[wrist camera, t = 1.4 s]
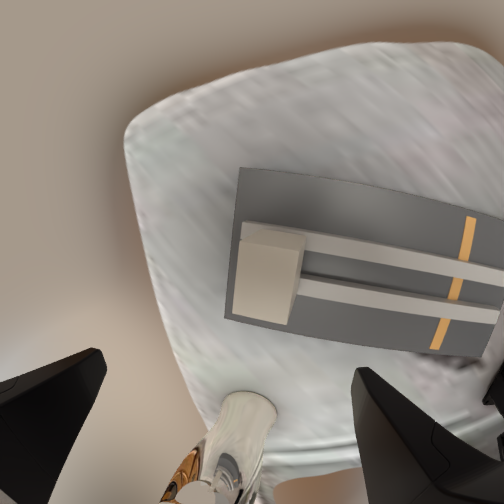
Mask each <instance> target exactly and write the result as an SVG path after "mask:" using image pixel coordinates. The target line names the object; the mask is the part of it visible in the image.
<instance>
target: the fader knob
mask: <svg viewBox="0 0 504 504" xmlns="http://www.w3.org/2000/svg"><path fill="white" fill-rule="evenodd" d="M305 243H306V236H304V235H298V234H292V233H286V232H280V231H273V230H267V229H260V230H259V231H257V232H255V233H253V234H251V235H250V236H248V237H246V238H244V239H242V240H241V241H240V242H239V251H238V261H237V270H236V279H235V289H234V299H233V309H232V313H233V314H237V315H242V316H246V317H250V318H255V319H259V320H264V321H269V322H273V323H278V324H283V325H287V322H288V319H289V316H290V313H291V310H292V307H293V304H294V301H295V298H296V294H297V290H298V284H299V279H300V273H301V267H302V261H303V255H304V249H305Z"/></svg>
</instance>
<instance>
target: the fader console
mask: <svg viewBox="0 0 504 504" xmlns="http://www.w3.org/2000/svg"><path fill="white" fill-rule="evenodd" d="M260 229H267V230H273V231H280V232H286V233H292V234H298V235H304V236H306V243H305V249H304V255H303V261H302V267H301V273H300V279H299V284H298V290H297V294H296V298H295V301H294V304H293V307H292V310H291V313H290V316H289V319H288V322H287V325H283V324H278V323H273V322H269V321H264V320H259V319H255V318H250V317H246V316H242V315H237V314H233V313H232V309H233V299H234V289H235V279H236V270H237V261H238V251H239V242H240V241H241V240H242V239H244V238H246V237H248V236H250V235H251V234H253V233H255V232H257V231H259V230H260ZM503 301H504V221H503V220H500V219H497V218H494V217H491V216H488V215H484V214H481V213H478V212H475V211H471V210H468V209H465V208H461V207H458V206H454V205H450V204H447V203H443V202H439V201H435V200H431V199H428V198H423V197H419V196H415V195H411V194H407V193H402V192H398V191H393V190H388V189H384V188H379V187H374V186H369V185H364V184H358V183H353V182H347V181H341V180H335V179H329V178H323V177H316V176H310V175H303V174H295V173H288V172H280V171H271V170H262V169H252V168H242V167H240V169H239V178H238V187H237V195H236V204H235V213H234V223H233V232H232V242H231V252H230V262H229V272H228V282H227V293H226V304H225V315H224V318H225V319H229V320H234V321H238V322H242V323H246V324H251V325H255V326H260V327H264V328H269V329H273V330H278V331H283V332H288V333H293V334H298V335H303V336H308V337H314V338H319V339H325V340H331V341H337V342H343V343H349V344H355V345H362V346H369V347H376V348H384V349H392V350H400V351H409V352H418V353H428V354H439V355H452V356H468V357H482V354H483V352H484V350H485V348H486V346H487V343H488V341H489V339H490V336H491V334H492V331H493V329H494V326H495V324H496V322H497V320H498V317H499V314H500V310H501V307H502V304H503Z"/></svg>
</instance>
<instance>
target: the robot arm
mask: <svg viewBox="0 0 504 504" xmlns="http://www.w3.org/2000/svg"><path fill="white" fill-rule="evenodd" d="M106 372H107V366H106V362H105V360H104V357H103V354H102V352H101V350H100V349H96V348H89V349H86V350H84V351H81V352H79V353H76V354H74V355H71V356H69V357H66V358H64V359H61V360H58V361H56V362H53V363H51V364H48V365H46V366H43V367H40V368H38V369H36V370H33V371H30V372H27V373H25V374H22V375H20V376H17V377H14V378H12V379H9V380H6V381H3V382H0V504H48V502H49V499H50V497H51V494H52V491H53V489H54V487H55V484H56V481H57V479H58V477H59V475H60V473H61V470H62V468H63V466H64V463H65V461H66V459H67V457H68V455H69V453H70V451H71V449H72V446H73V444H74V442H75V440H76V438H77V436H78V434H79V432H80V430H81V428H82V426H83V424H84V422H85V420H86V418H87V416H88V414H89V412H90V410H91V408H92V406H93V404H94V402H95V399H96V397H97V395H98V392H99V390H100V387H101V385H102V382H103V380H104V377H105V375H106ZM351 397H352V406H353V417H354V427H355V434H356V439H357V443H358V448H359V453H360V458H361V463H362V468H363V473H364V479H365V484H366V489H367V496H368V501H369V504H504V432H503V433H502V434H500V435H499V436H498V437H497V441H498V448H499V453H500V459H501V461H498V460H495V459H493V458H491V457H489V456H487V455H486V454H484V453H482V452H481V451H479V450H477V449H475V448H474V447H472V446H470V445H469V444H467V443H465V442H464V441H462V440H461V439H459V438H458V437H456V436H455V435H453V434H452V433H451V432H449V431H448V430H446V429H445V428H444V427H443V426H441V425H440V424H439V423H437V422H435V420H434V419H432V418H431V417H430V416H429V415H427V414H426V413H425V412H424V411H422V410H421V409H420V408H419V407H417V406H416V405H415V404H414V403H412V402H411V401H410V400H409V399H407V398H406V397H405V396H404V395H402V394H401V393H400V392H399V391H397V390H396V389H395V388H394V387H393V386H391V385H390V384H389V383H388V382H386V381H385V380H384V379H383V378H381V377H380V376H379V375H378V374H377V373H375V372H374V371H373V370H372V369H370V368H369V367H358V368H356V370H355V373H354V377H353V381H352V385H351ZM482 403H483V404H484V405H494V404H495V406H496V407H497V409H498V411H499V413H500V414H501V415H502V416H503V418H504V363H503V365H502V367H501V369H500V371H499V373H498V375H497V377H496V379H495V380H494V382H493V384H492V386H491V388H490V389H489V391H488V393H487V394H486V396H485V398H484V399H483V401H482Z"/></svg>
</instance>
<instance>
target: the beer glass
mask: <svg viewBox="0 0 504 504" xmlns="http://www.w3.org/2000/svg"><path fill="white" fill-rule="evenodd" d="M276 418H277V412H276V409H275V407H274V406H273V404H272V403H271V402H270V401H269V400H267V399H266V398H265V397H263V396H261V395H259V394H256V393H252V392H247V391H239V392H234V393H231V394H229V395H228V396H227V397H226V398H225V399H224V400H223V403H222V406H221V410H220V414H219V417H218V419H217V421H216V423H215V424H214V426H213V427H212V428H211V430H210V431H209V432H208V433H207V434H206V435H205V436H204V437H203V438H202V439H201V440H200V442H199V443H198V444H197V445H196V446H195V447H194V448H193V449H192V450H191V451H190V453H189V454H188V455H187V456H186V457H185V459H184V460H183V461H182V463H181V464H180V466H179V467H178V469H177V470H176V472H175V474H174V475H173V477H172V479H171V480H170V482H169V484H168V486H167V488H166V490H165V492H164V494H163V496H162V498H161V500H160V502H159V503H158V504H254V502H255V499H256V496H257V493H258V490H259V486H260V480H261V473H262V463H263V452H264V444H265V440H266V438H267V435H268V433H269V432H270V430H271V428H272V427H273V425H274V423H275V421H276Z"/></svg>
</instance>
